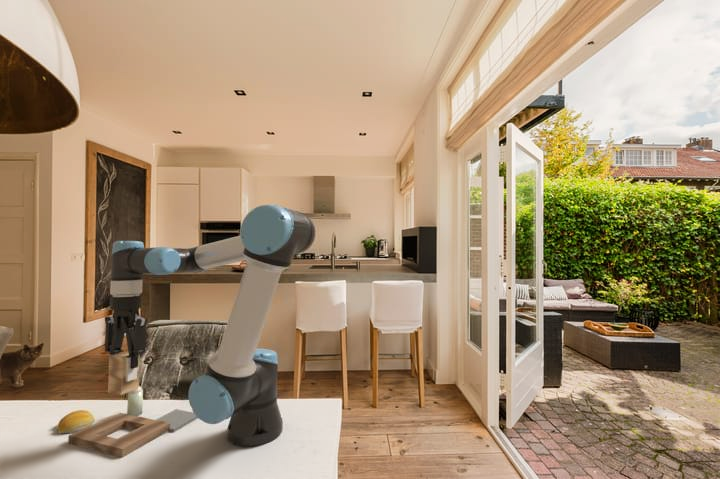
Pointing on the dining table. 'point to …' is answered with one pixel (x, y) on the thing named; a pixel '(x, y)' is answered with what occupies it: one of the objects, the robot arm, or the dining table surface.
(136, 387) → the oak block
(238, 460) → the dining table surface
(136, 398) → the sage shaker
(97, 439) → the walnut board
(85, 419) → the bread roll
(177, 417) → the slate board
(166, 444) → the dining table surface
